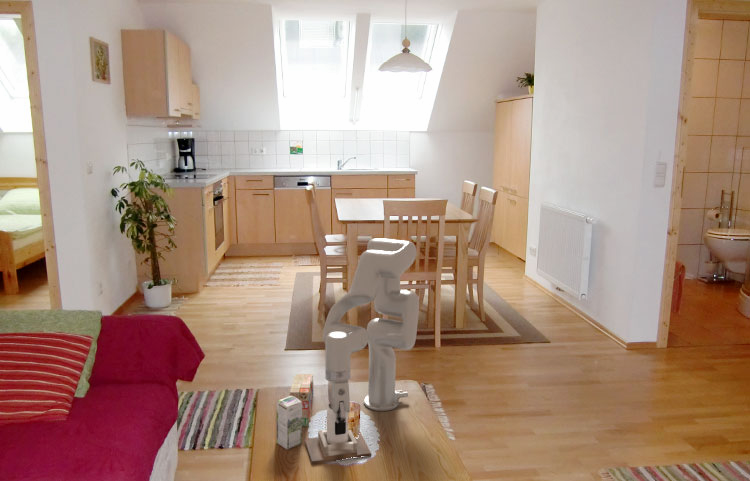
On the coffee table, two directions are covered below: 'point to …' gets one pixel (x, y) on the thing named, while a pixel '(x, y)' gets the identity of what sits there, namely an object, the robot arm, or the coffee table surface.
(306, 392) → the stack of blocks
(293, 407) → the syrup box
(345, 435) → the can
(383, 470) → the coffee table surface
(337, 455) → the collar board
